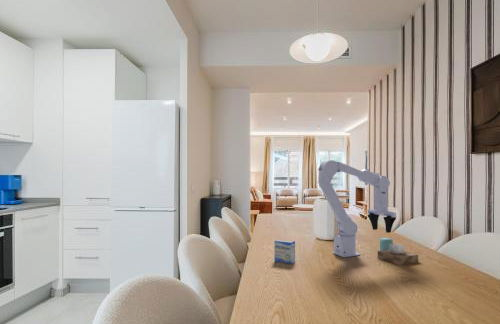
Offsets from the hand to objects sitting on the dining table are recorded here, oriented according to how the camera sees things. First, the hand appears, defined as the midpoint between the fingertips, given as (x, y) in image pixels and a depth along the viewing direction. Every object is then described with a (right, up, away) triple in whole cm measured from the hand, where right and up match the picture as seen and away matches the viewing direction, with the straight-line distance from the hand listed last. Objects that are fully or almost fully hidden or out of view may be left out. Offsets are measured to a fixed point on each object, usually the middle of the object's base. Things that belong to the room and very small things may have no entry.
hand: (381, 231), depth 137 cm
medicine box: (-46, -10, -12) cm, 49 cm away
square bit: (+2, -10, -11) cm, 14 cm away
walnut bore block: (+2, -10, -10) cm, 15 cm away
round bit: (+4, -11, +3) cm, 12 cm away
